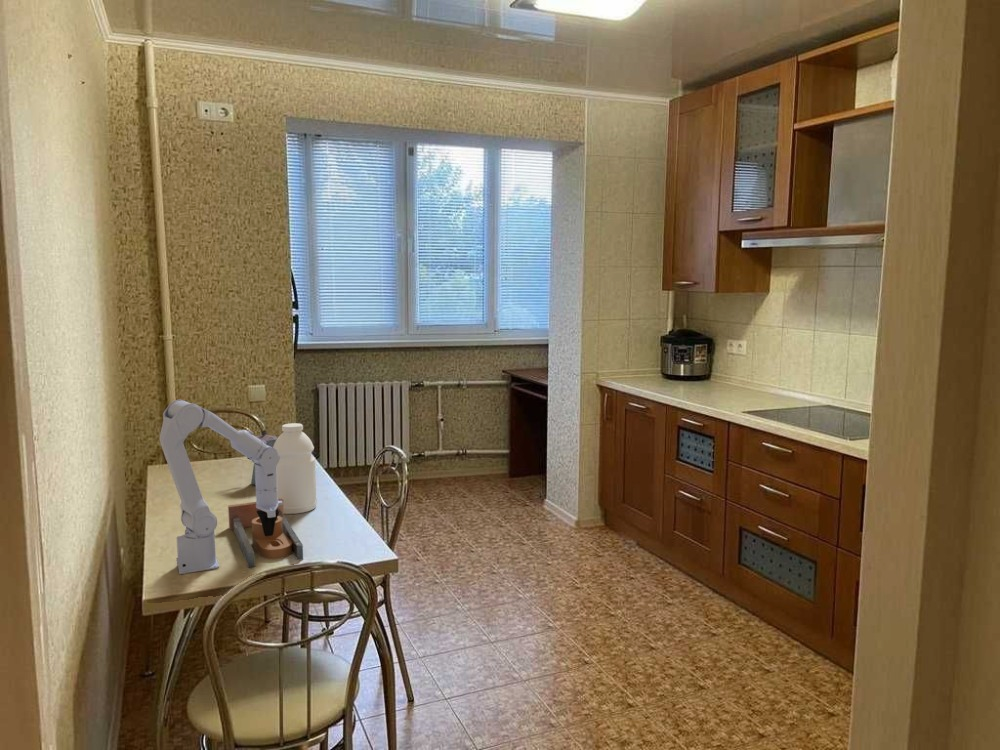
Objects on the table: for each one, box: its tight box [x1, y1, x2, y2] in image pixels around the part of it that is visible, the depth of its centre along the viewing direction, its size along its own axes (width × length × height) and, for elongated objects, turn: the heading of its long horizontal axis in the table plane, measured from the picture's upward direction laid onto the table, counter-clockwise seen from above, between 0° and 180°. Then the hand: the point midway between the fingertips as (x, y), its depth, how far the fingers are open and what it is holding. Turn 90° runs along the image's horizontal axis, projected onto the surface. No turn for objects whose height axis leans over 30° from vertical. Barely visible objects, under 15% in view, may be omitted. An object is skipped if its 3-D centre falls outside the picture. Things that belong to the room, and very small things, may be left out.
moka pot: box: [246, 430, 278, 486], centre depth 272 cm, size 10×15×20 cm, turn 81°
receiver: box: [227, 499, 304, 569], centre depth 211 cm, size 16×36×7 cm, turn 26°
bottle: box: [273, 422, 318, 515], centre depth 241 cm, size 14×14×28 cm
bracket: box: [251, 516, 293, 560], centre depth 206 cm, size 18×8×7 cm, turn 31°
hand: (268, 535), depth 205 cm, fingers closed
